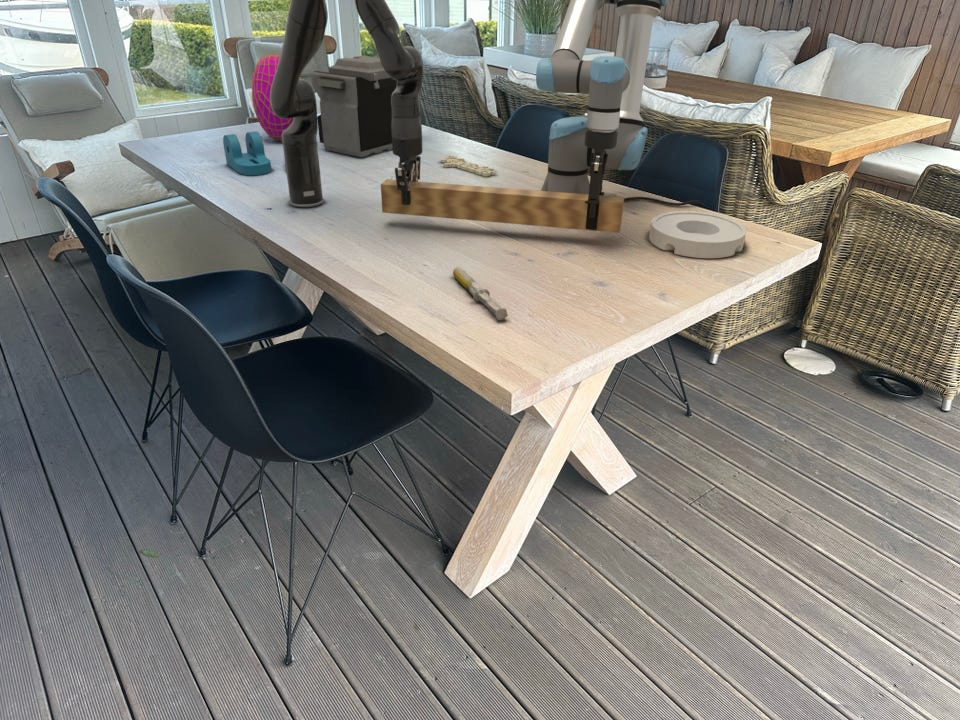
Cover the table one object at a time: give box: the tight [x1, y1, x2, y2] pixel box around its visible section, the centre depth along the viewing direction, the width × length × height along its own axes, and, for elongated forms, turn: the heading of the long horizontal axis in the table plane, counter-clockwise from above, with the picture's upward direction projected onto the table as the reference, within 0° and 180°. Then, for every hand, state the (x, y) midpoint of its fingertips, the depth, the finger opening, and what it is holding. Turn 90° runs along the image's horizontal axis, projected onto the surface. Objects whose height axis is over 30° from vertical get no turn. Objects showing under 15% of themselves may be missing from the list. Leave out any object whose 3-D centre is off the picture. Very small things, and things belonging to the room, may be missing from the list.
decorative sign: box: [440, 154, 496, 177], centre depth 233 cm, size 26×1×10 cm
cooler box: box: [310, 55, 397, 159], centre depth 250 cm, size 37×22×30 cm, turn 144°
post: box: [380, 178, 625, 234], centre depth 175 cm, size 62×5×8 cm, turn 77°
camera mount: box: [222, 131, 272, 176], centre depth 226 cm, size 18×10×10 cm, turn 35°
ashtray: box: [648, 210, 747, 259], centre depth 174 cm, size 23×23×4 cm
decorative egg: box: [251, 54, 302, 142], centre depth 257 cm, size 19×19×30 cm
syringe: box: [452, 266, 509, 321], centre depth 145 cm, size 25×4×3 cm, turn 21°
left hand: (409, 201), depth 180 cm, fingers closed on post, 5 cm apart
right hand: (592, 225), depth 172 cm, fingers closed on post, 5 cm apart
